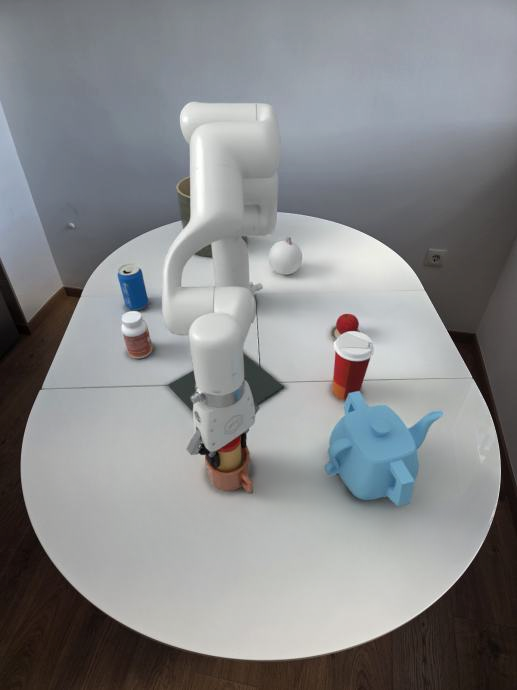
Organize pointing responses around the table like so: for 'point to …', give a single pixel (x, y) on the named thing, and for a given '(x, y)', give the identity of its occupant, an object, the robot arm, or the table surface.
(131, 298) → the beverage can
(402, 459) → the teapot
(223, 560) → the table surface
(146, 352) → the pill bottle
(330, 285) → the table surface
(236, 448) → the jar
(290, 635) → the table surface
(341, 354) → the coffee cup
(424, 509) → the table surface
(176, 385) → the mat
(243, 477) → the terracotta mug
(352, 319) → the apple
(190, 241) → the robot arm
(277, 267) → the ornament
